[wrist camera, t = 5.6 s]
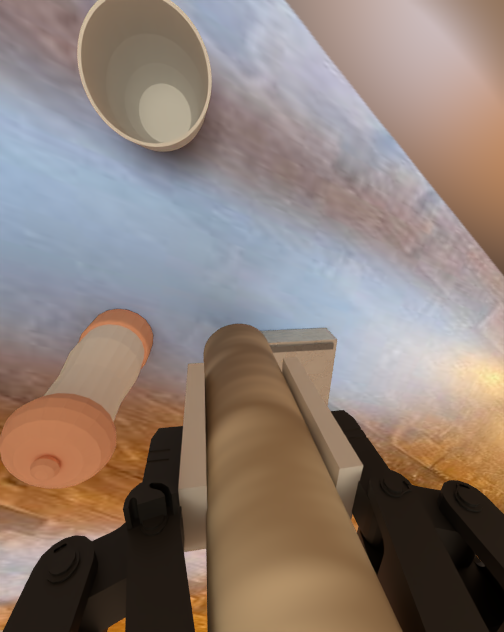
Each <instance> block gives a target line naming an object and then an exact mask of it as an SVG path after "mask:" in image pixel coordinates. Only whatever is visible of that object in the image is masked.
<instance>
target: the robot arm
mask: <svg viewBox="0 0 504 632" xmlns="http://www.w3.org/2000/svg"><path fill="white" fill-rule="evenodd" d="M282 374H283V376H284V378H285V380H286V382H287V384H288V386H289V389H290V391H291V393H292V395H293V397H294V399H295V401H296V404H297V406H298V408H299V410H300V412H301V414H302V416H303V419H304V421H305V423H306V425H307V427H308V429H309V431H310V434H311V436H312V438H313V440H314V442H315V444H316V446H317V449H318V451H319V453H320V455H321V457H322V459H323V462H324V464H325V466H326V468H327V470H328V472H329V474H330V477H331V479H332V481H333V483H334V485H335V487H336V489H337V492H338V494H339V496H340V498H341V500H342V502H343V504H344V507H345V509H346V511H347V513H348V515H349V517H350V519H351V518H352V514H353V516H354V518H355V520H356V522H357V524H358V526H359V527H358V531H357V534H358V537H359V539H360V541H361V543H362V545H363V547H364V549H365V552H366V554H367V556H368V558H369V560H370V562H371V565H372V567H373V569H374V571H375V573H376V575H377V577H378V580H379V582H380V584H381V586H382V588H383V590H384V592H385V595H386V597H387V599H388V601H389V603H390V605H391V607H392V610H393V612H394V614H395V616H396V618H397V620H398V622H399V625H400V627H401V629H402V631H403V632H504V514H503V513H502V512H501V511H500V510H499V509H498V508H497V507H496V506H495V505H494V504H493V503H492V502H491V501H490V500H489V499H488V498H487V497H486V496H485V495H484V494H482V493H481V492H480V491H479V490H478V489H476V488H474V487H473V486H471V485H469V484H467V483H464V482H461V481H455V480H449V481H447V482H445V483H444V484H443V487H442V489H441V491H440V490H435V489H429V488H423V487H418V486H414V485H412V484H411V483H410V482H409V481H408V480H407V479H406V478H405V477H404V476H402V475H401V474H399V473H397V472H395V471H393V470H390V469H389V468H388V466H387V465H386V464H385V462H384V461H383V459H382V458H381V456H380V455H379V454H378V452H377V451H376V449H375V448H374V446H373V445H372V443H371V442H370V441H369V439H368V438H366V435H365V433H364V432H363V431H362V430H361V428H360V426H359V425H358V423H357V422H356V420H355V419H354V418H353V417H352V416H350V415H349V414H348V413H347V412H345V411H344V410H339V411H330V410H329V408H328V407H327V405H326V403H325V402H324V400H323V398H322V397H321V395H320V393H319V392H318V390H317V388H316V387H315V385H314V384H313V382H312V380H311V379H310V377H309V375H308V374H307V372H306V370H305V369H304V367H303V365H302V364H301V362H300V361H299V359H298V357H291V358H283V365H282ZM123 512H124V516H125V521H126V523H124V524H123V525H122V526H121V527H120V528H118V529H116V530H115V531H113V532H111V533H109V534H107V535H105V536H102V537H100V538H98V539H96V540H94V541H91V540H89V539H88V538H87V537H85V536H76V535H75V536H72V537H68V538H65V539H63V540H61V541H59V542H58V543H56V544H54V545H53V546H52V547H51V548H50V549H49V550H47V551H46V552H45V553H44V554H43V555H42V556H41V558H40V559H39V561H38V562H37V564H36V565H35V567H34V569H33V571H32V573H31V575H30V577H29V579H28V581H27V583H26V585H25V587H24V589H23V591H22V593H21V595H20V597H19V599H18V601H17V603H16V605H15V607H14V609H13V611H12V613H11V616H10V618H9V620H8V622H7V624H6V626H5V628H4V630H3V632H107V630H108V627H110V626H111V625H113V624H115V623H117V622H118V621H120V620H122V619H123V618H125V617H126V627H125V632H195V629H194V622H193V614H192V607H191V600H190V593H189V586H188V579H187V572H186V565H185V558H184V552H188V551H194V550H200V549H206V513H207V464H206V414H205V373H204V363H194V364H188V371H187V384H186V397H185V409H184V422H183V426H179V427H168V428H159V429H158V431H157V432H156V433H155V435H154V436H153V438H152V439H151V443H150V448H149V453H148V458H147V464H146V468H145V472H144V477H143V482H142V483H140V484H139V485H137V486H136V487H135V488H134V489H133V490H131V492H130V493H129V495H128V496H127V498H126V499H125V503H124V507H123ZM476 555H477V556H478V557H477V556H476Z"/></svg>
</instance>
